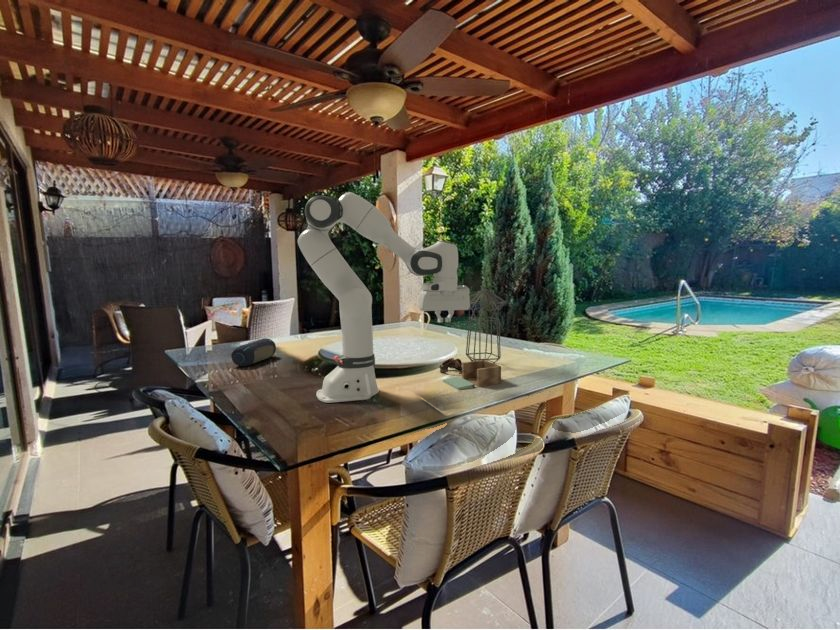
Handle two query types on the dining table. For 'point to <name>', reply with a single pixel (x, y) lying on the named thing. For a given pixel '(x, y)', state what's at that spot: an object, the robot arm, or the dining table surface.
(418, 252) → the robot arm
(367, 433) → the dining table surface
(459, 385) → the panel
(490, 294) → the geometric lantern
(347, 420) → the dining table surface
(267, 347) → the portable speaker
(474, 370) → the crate
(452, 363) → the dark brown arch
